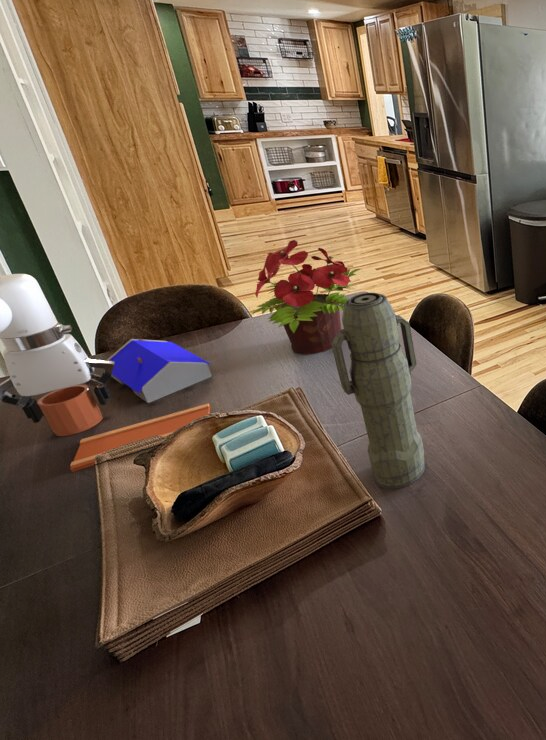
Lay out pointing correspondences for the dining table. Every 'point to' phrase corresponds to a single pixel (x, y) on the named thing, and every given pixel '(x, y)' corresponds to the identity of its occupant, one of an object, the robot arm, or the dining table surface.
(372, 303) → the thermos
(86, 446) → the orange rectangular tray
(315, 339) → the potted plant
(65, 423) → the terracotta pot
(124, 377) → the roof
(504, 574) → the dining table surface
